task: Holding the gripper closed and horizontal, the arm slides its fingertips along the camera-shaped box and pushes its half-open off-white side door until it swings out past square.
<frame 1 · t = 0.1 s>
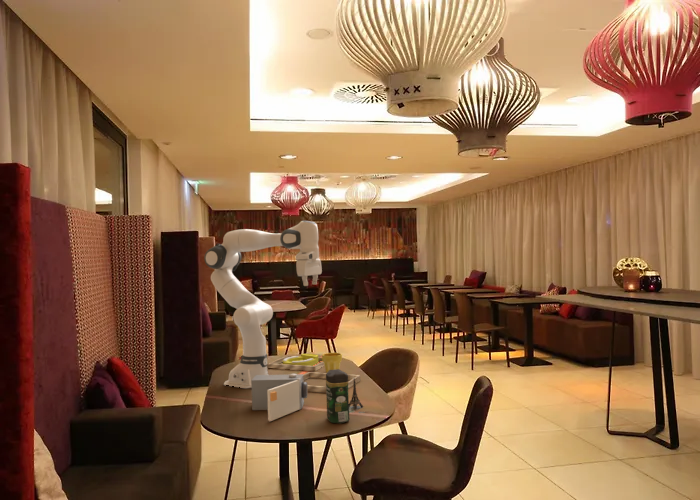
hand: (310, 285, 249), 48 cm above the table, tool pointing down, fingers open, 8 cm apart
ashtray: (300, 366, 300), resting on oak tray frame under the ashtray
plant pot: (332, 373, 279), on the table
side door: (286, 399, 207), point 6 cm above the table, hinge at 58.0°
coffee jar: (338, 420, 200), on the table
camera body: (299, 409, 214), on the table
eiffel tower figurine: (353, 409, 215), on the table
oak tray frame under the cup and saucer: (323, 384, 254), on the table
oak tray frame under the ashtray: (300, 365, 301), on the table
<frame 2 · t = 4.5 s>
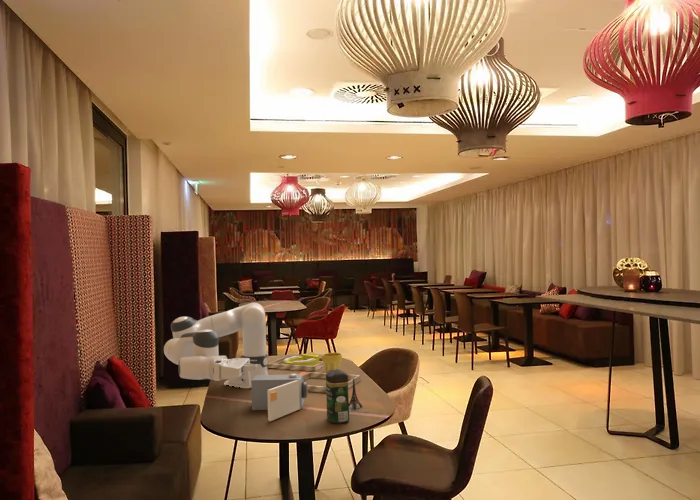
hand: (257, 367, 203), 20 cm above the table, tool horizontal, fingers closed
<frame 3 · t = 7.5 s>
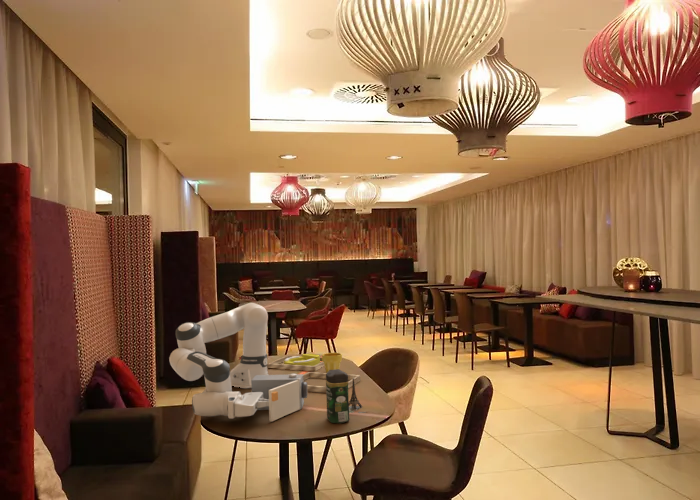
hand: (271, 402, 201), 7 cm above the table, tool horizontal, fingers closed
side door: (286, 399, 206), point 6 cm above the table, hinge at 60.0°, touching gripper
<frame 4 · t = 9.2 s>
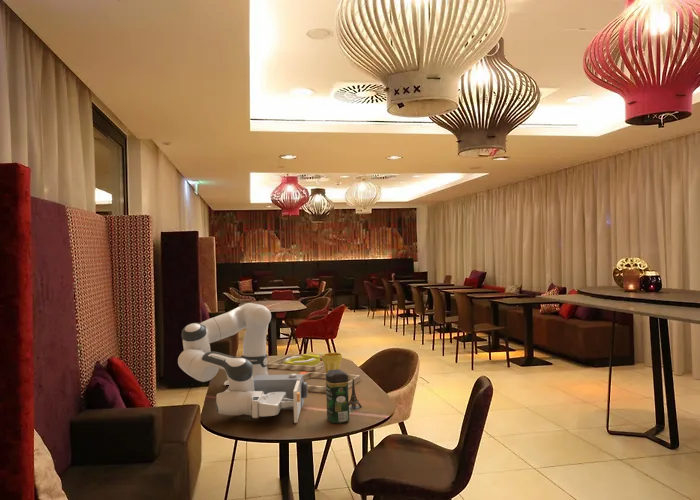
hand: (294, 402, 201), 7 cm above the table, tool horizontal, fingers closed
side door: (298, 399, 206), point 6 cm above the table, hinge at 92.2°, touching gripper
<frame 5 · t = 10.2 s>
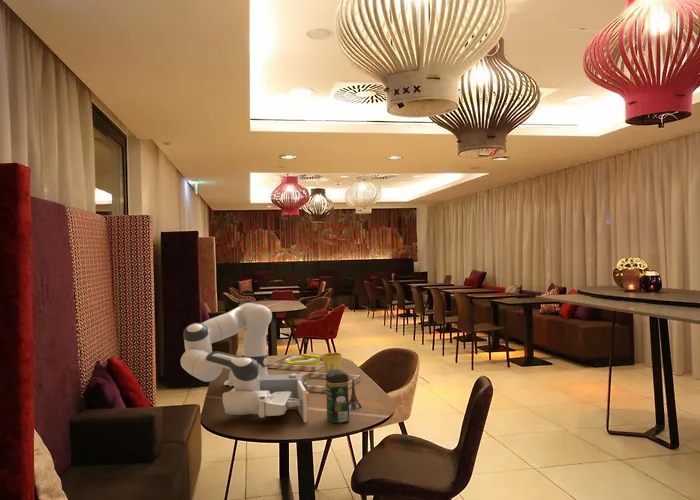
hand: (300, 402, 201), 7 cm above the table, tool horizontal, fingers closed
side door: (302, 399, 206), point 6 cm above the table, hinge at 103.5°, touching gripper
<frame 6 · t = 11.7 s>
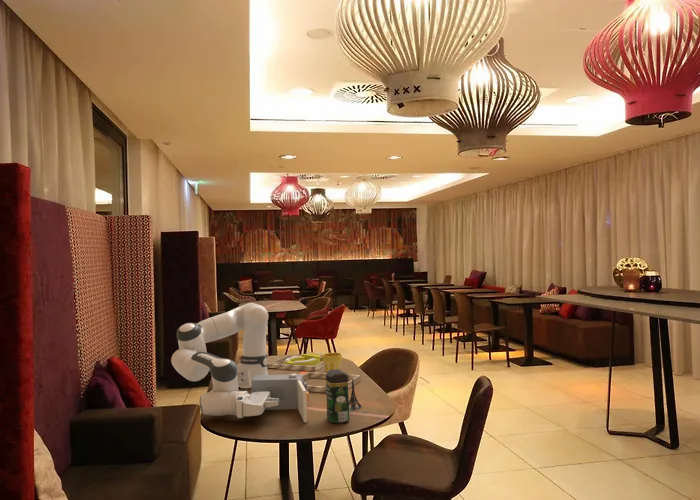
hand: (278, 402, 202), 7 cm above the table, tool horizontal, fingers closed
side door: (303, 399, 206), point 6 cm above the table, hinge at 103.6°
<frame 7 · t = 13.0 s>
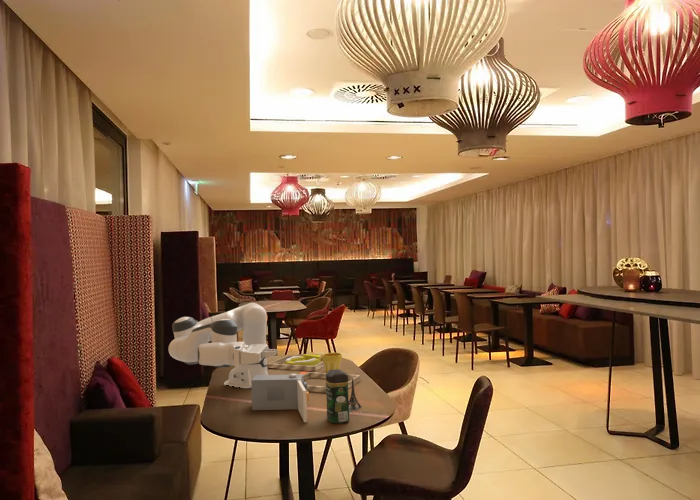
hand: (276, 352, 202), 25 cm above the table, tool horizontal, fingers closed
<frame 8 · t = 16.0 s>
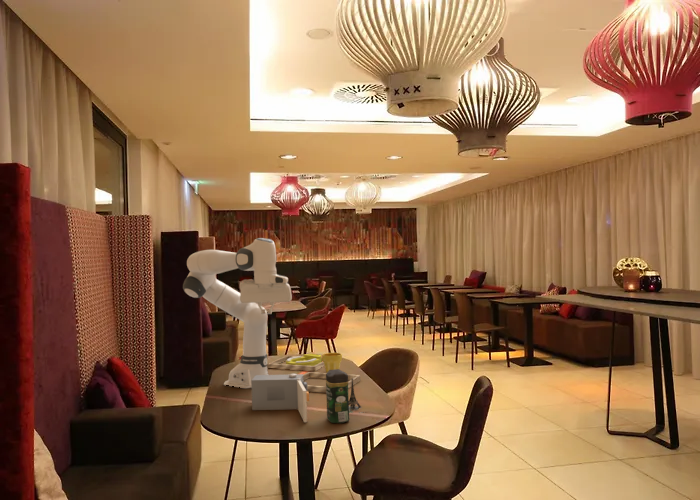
hand: (266, 313, 211), 39 cm above the table, tool pointing down, fingers closed
at the end: side door at +104° (first picture: +58°) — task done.
